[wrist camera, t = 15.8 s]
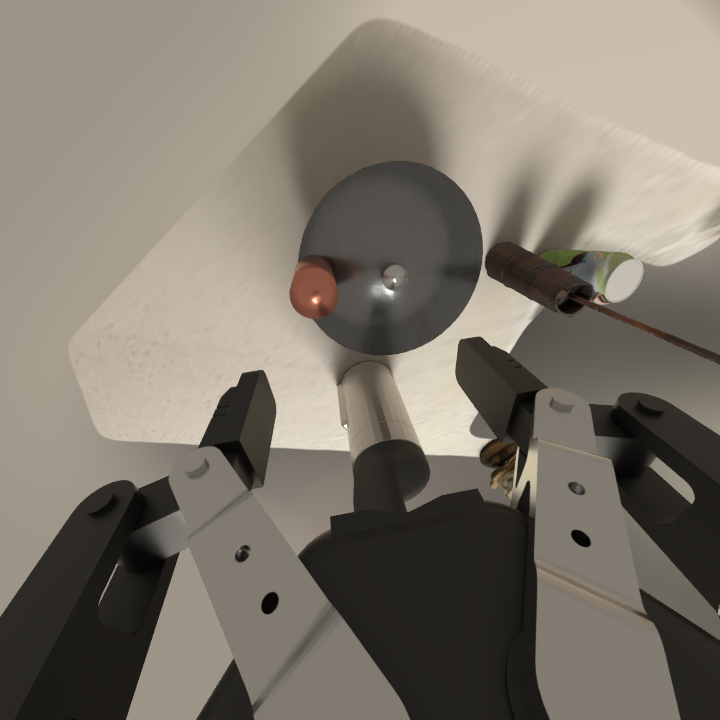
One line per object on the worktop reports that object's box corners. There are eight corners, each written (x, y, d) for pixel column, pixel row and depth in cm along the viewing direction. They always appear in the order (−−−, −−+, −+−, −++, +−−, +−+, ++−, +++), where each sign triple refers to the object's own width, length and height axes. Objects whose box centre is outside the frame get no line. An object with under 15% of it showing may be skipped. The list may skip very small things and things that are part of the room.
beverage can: (515, 280, 42) (578, 308, 32) (548, 231, 39) (630, 246, 29) (544, 294, 44) (611, 324, 34) (577, 249, 41) (663, 268, 31)
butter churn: (450, 270, 40) (644, 387, 16) (499, 209, 36) (837, 246, 13) (489, 302, 43) (693, 435, 20) (537, 249, 40) (854, 336, 16)
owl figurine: (476, 472, 69) (518, 546, 54) (473, 443, 62) (519, 519, 48) (545, 450, 68) (607, 520, 53) (549, 419, 61) (621, 489, 47)
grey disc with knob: (498, 169, 24) (563, 162, 18) (453, 346, 34) (484, 382, 27) (286, 155, 22) (274, 141, 15) (302, 351, 31) (299, 392, 25)
